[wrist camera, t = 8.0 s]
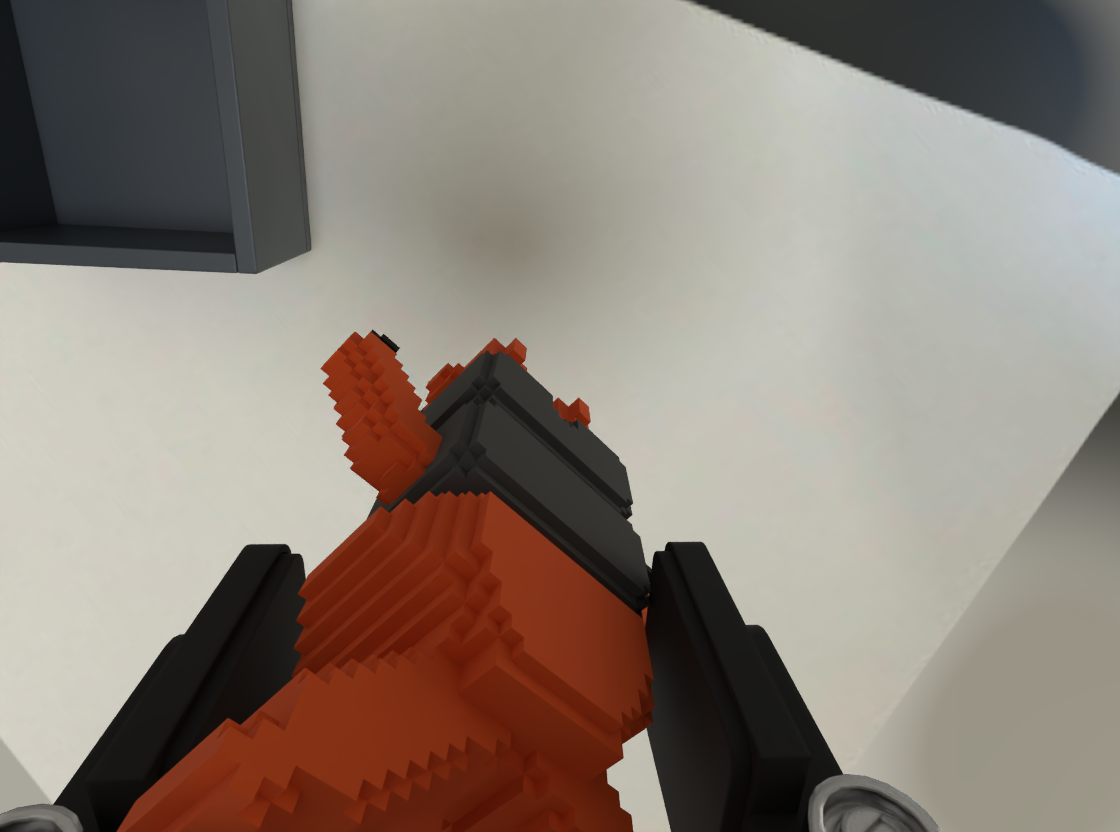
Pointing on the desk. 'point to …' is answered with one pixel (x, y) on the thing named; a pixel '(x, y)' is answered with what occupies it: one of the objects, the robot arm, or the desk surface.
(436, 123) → the desk surface
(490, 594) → the toy animal
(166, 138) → the bin
